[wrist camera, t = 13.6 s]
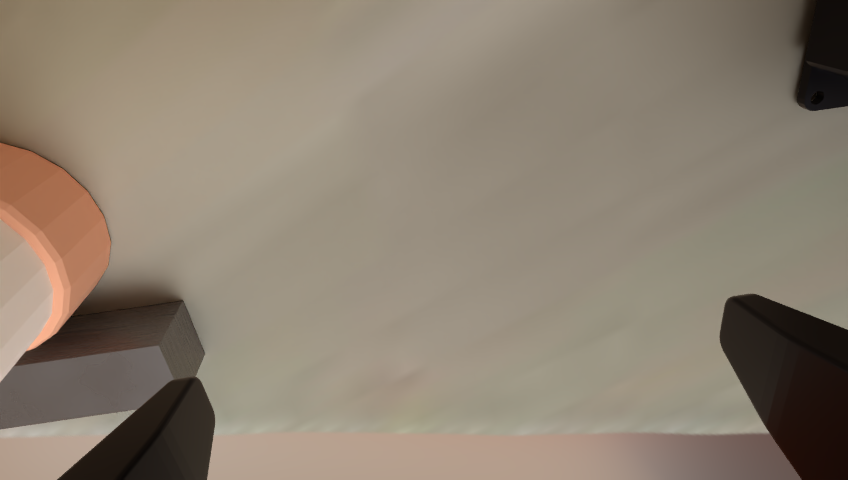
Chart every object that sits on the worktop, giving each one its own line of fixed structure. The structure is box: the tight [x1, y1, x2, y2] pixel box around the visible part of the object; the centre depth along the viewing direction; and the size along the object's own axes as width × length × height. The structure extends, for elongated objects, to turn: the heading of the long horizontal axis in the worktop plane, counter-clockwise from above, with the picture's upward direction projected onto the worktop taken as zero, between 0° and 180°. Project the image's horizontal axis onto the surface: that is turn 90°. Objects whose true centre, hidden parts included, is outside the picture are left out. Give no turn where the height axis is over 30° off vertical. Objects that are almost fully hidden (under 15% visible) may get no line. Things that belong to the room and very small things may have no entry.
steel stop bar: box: [0, 301, 205, 429], centre depth 23 cm, size 12×3×3 cm, turn 97°
